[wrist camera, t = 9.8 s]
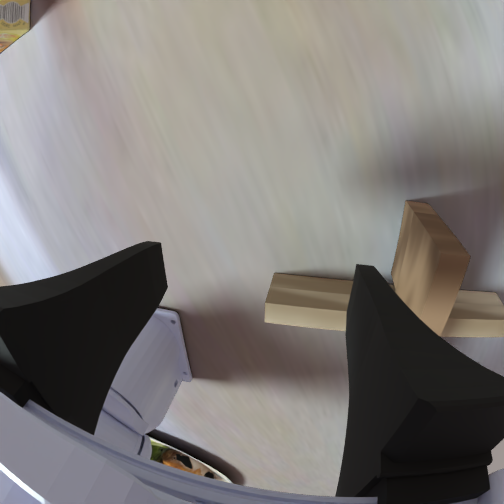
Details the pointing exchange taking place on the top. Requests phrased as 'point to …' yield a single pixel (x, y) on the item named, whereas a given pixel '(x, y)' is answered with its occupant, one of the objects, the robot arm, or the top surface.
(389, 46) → the top surface
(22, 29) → the candy box
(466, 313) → the birch board
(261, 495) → the robot arm
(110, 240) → the top surface
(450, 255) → the wooden plank
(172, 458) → the plate of food
